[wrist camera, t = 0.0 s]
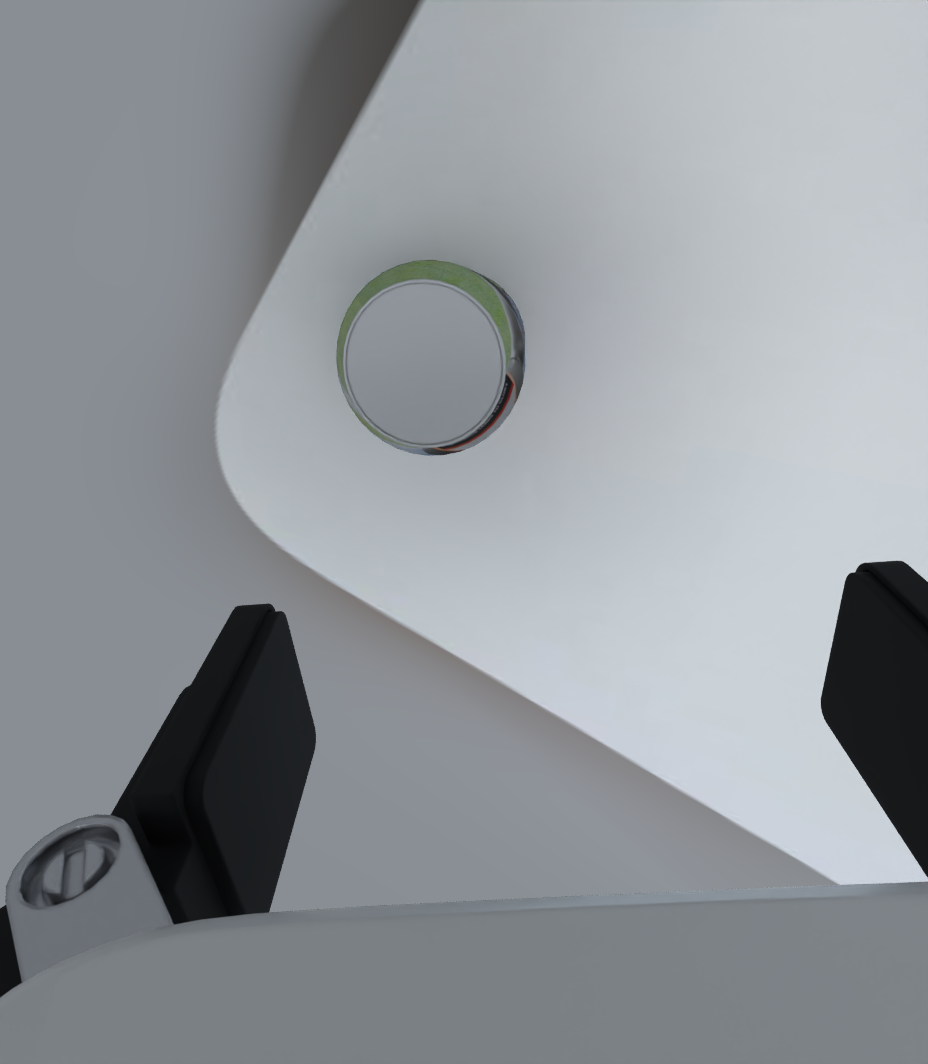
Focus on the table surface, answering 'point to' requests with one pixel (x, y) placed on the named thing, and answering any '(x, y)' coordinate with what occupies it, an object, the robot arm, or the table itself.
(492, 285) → the beverage can
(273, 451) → the table surface
